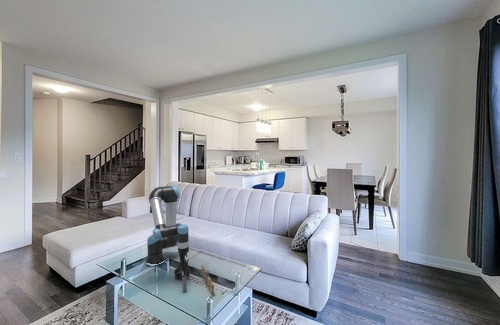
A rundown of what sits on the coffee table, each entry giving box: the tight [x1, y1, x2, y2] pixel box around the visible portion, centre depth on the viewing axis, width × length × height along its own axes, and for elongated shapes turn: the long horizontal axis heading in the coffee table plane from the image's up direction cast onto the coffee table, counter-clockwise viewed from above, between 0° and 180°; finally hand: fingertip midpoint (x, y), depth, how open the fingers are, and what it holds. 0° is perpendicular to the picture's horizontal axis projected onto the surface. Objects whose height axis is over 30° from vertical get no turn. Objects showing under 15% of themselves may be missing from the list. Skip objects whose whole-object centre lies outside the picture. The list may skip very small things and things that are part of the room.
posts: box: [181, 269, 210, 294], centre depth 156 cm, size 3×18×11 cm, turn 116°
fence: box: [206, 275, 215, 297], centre depth 152 cm, size 12×1×7 cm, turn 26°
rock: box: [173, 265, 191, 280], centre depth 170 cm, size 12×9×10 cm
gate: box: [201, 265, 207, 283], centre depth 166 cm, size 12×1×7 cm, turn 26°
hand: (184, 278), depth 163 cm, fingers closed
